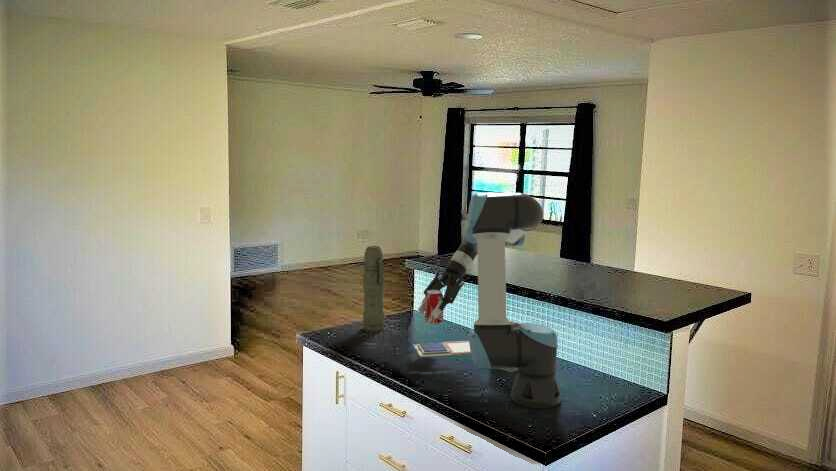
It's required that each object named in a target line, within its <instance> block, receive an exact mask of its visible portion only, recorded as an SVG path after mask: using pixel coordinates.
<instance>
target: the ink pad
mask: <svg viewBox="0 0 836 471" xmlns="http://www.w3.org/2000/svg"><path fill="white" fill-rule="evenodd" d="M417 344H418V347H419V348H420V350H421V352H422V353H423V355H424V354H440V353H450V351H449V350H448V348H447V347H446V346H445V344H444V343H443V342H442V341H441V342H425V343H417Z"/></svg>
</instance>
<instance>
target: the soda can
mask: <svg viewBox="0 0 836 471" xmlns="http://www.w3.org/2000/svg"><path fill="white" fill-rule="evenodd" d="M424 295H425V294H424ZM424 298H425V311H424V322H425V323H427V325H433V326H434V325H440V324H441V323H442V322H443V321H444V310H443V311H441V313H440V314H439V316H438V317H437V319H436V318H435V317H434V316H433V315H432V313H433V311H434V309H435V308H436V306H437V305H438V303H439V302H440V300H442V298H444V295H443V291H442V290H428V291H427V293H426V295H425V296H424ZM442 301H443V300H442Z"/></svg>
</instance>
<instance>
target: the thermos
mask: <svg viewBox="0 0 836 471" xmlns="http://www.w3.org/2000/svg"><path fill="white" fill-rule="evenodd" d="M383 255H384V254H383V251H382V248H381V247H380V246H378V245H377V246H376V245H370V246H367V247H366V248H365V251H364V256H363V257H364V258H363V261H364V267H363V268H364V271H363V275H362V287H363V288H362V289H363V291H364V292H363V293H364V294H363V295H364V296H363V297H364V298H363V299H364V300H363V302H364V308H363V309H364V310H363V312H362V314H363V315H362V323H363V330H364V331H366V332H372V333H376V332H381V331H384V329H385V311H384V289H385V274H384V261H383V259H384V256H383Z"/></svg>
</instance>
